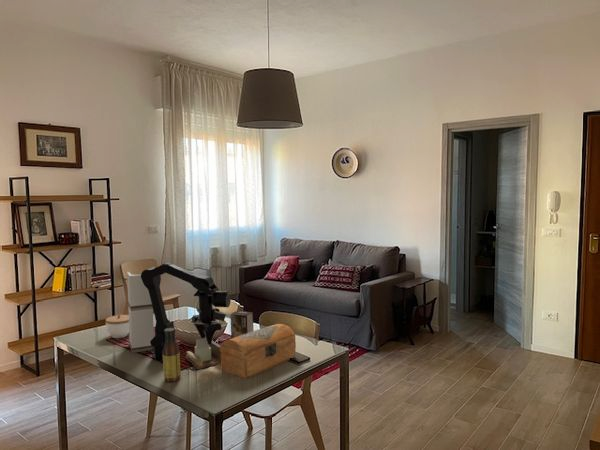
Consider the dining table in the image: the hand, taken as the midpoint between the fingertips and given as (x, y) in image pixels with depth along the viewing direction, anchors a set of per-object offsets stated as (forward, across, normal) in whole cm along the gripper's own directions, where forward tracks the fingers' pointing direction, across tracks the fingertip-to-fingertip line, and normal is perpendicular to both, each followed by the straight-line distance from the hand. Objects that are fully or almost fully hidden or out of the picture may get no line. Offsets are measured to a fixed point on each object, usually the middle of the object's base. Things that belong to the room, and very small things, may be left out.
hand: (206, 342), depth 194 cm
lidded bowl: (+8, +57, +23) cm, 62 cm away
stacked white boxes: (+8, +33, +18) cm, 38 cm away
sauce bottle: (+8, -11, +19) cm, 23 cm away
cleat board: (+8, 0, +1) cm, 8 cm away
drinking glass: (+8, +20, -11) cm, 24 cm away
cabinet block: (+7, 0, +2) cm, 7 cm away
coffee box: (+8, +6, -20) cm, 22 cm away
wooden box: (+8, -17, -17) cm, 25 cm away
